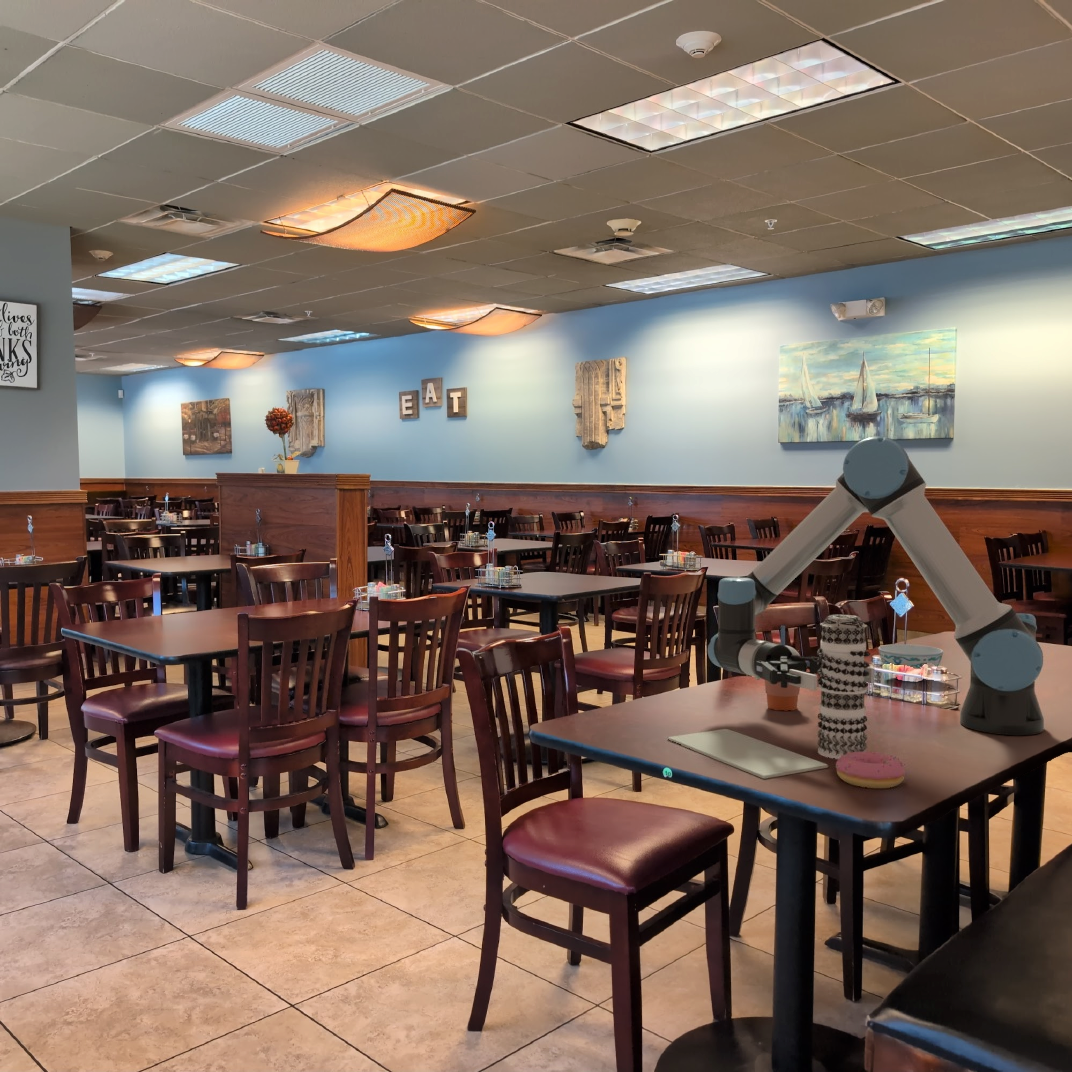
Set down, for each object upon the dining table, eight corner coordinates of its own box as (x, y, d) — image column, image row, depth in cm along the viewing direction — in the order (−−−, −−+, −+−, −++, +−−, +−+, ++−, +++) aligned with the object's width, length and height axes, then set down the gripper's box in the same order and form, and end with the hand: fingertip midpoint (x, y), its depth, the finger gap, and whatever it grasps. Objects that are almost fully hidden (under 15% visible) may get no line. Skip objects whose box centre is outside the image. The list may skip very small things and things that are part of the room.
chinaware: (938, 675, 247) (939, 645, 247) (945, 687, 233) (946, 655, 232) (876, 672, 252) (877, 643, 251) (879, 684, 237) (880, 652, 237)
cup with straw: (785, 714, 206) (785, 630, 205) (752, 706, 213) (752, 625, 212) (812, 708, 211) (813, 626, 210) (779, 701, 218) (780, 621, 218)
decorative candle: (863, 747, 180) (865, 613, 178) (873, 761, 171) (875, 620, 169) (812, 745, 181) (813, 612, 180) (819, 759, 172) (821, 619, 171)
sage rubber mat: (667, 739, 186) (667, 737, 186) (726, 731, 192) (726, 728, 192) (763, 778, 161) (763, 775, 161) (828, 767, 167) (828, 764, 167)
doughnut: (905, 794, 153) (905, 768, 153) (832, 787, 157) (832, 761, 157) (906, 775, 163) (906, 751, 163) (837, 769, 167) (838, 745, 167)
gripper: (815, 673, 199) (895, 693, 180) (716, 685, 188) (790, 707, 169) (815, 637, 199) (895, 653, 180) (716, 647, 188) (790, 664, 169)
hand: (844, 679), depth 174 cm, fingers open, 13 cm apart
